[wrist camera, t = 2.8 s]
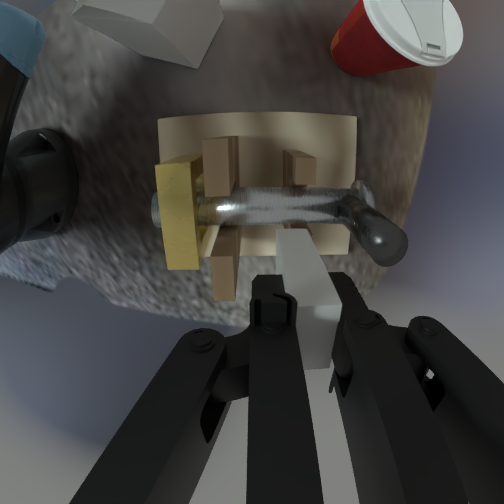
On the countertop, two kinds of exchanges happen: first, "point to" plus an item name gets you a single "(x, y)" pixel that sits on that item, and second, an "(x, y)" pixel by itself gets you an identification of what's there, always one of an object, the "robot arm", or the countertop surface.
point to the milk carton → (156, 26)
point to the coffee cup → (396, 36)
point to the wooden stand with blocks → (264, 173)
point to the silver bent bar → (305, 213)
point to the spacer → (182, 211)
